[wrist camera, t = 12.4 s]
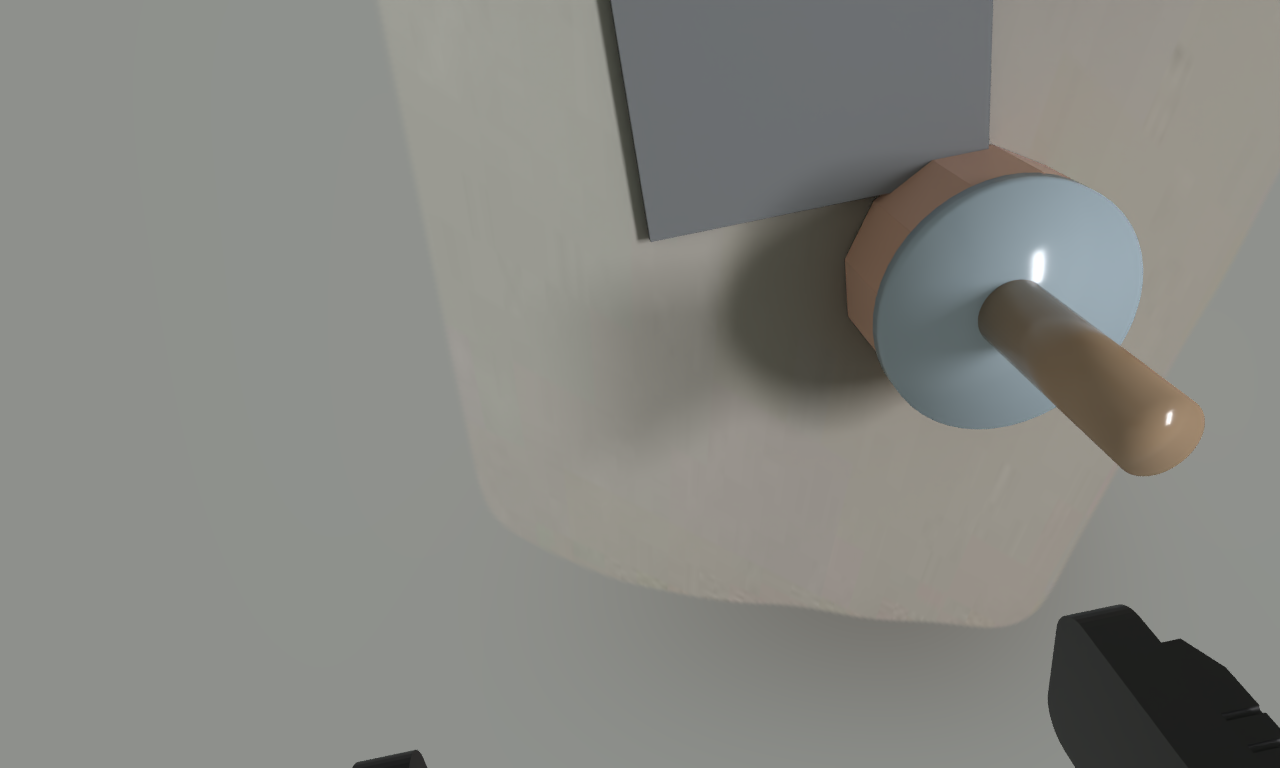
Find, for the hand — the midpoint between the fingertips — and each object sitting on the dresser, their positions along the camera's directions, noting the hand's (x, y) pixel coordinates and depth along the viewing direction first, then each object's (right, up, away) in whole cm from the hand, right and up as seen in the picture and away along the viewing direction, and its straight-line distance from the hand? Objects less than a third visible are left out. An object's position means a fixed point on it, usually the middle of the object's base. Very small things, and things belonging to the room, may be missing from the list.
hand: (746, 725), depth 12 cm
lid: (+13, +7, +25) cm, 29 cm away
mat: (+5, +18, +23) cm, 29 cm away
